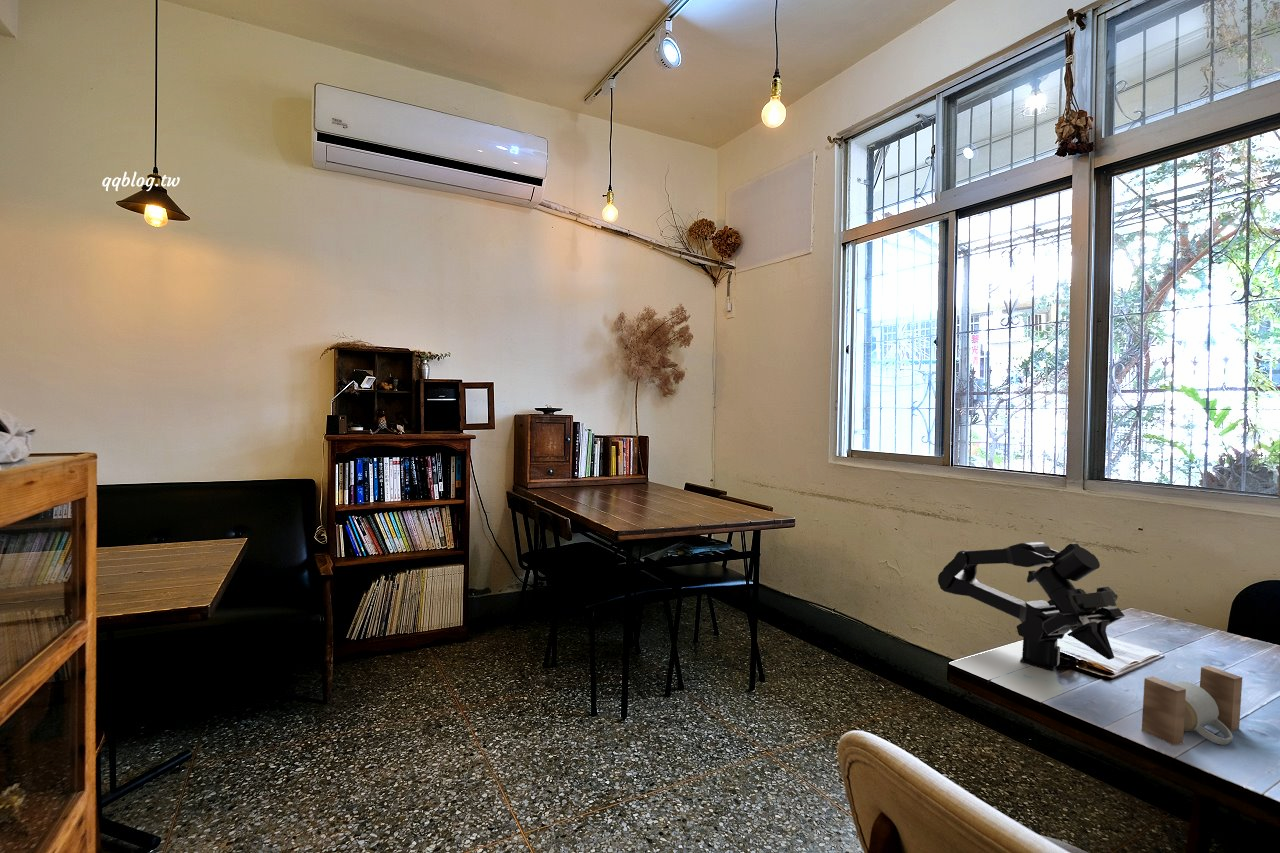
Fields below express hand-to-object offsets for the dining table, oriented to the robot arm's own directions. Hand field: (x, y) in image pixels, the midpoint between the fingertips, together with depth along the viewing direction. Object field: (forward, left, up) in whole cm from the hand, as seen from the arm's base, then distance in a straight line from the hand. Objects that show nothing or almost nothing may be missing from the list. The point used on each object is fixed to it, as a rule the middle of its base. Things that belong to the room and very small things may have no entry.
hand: (1111, 658), depth 119 cm
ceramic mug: (+13, -6, -8) cm, 16 cm away
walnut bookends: (+13, -6, -8) cm, 16 cm away
